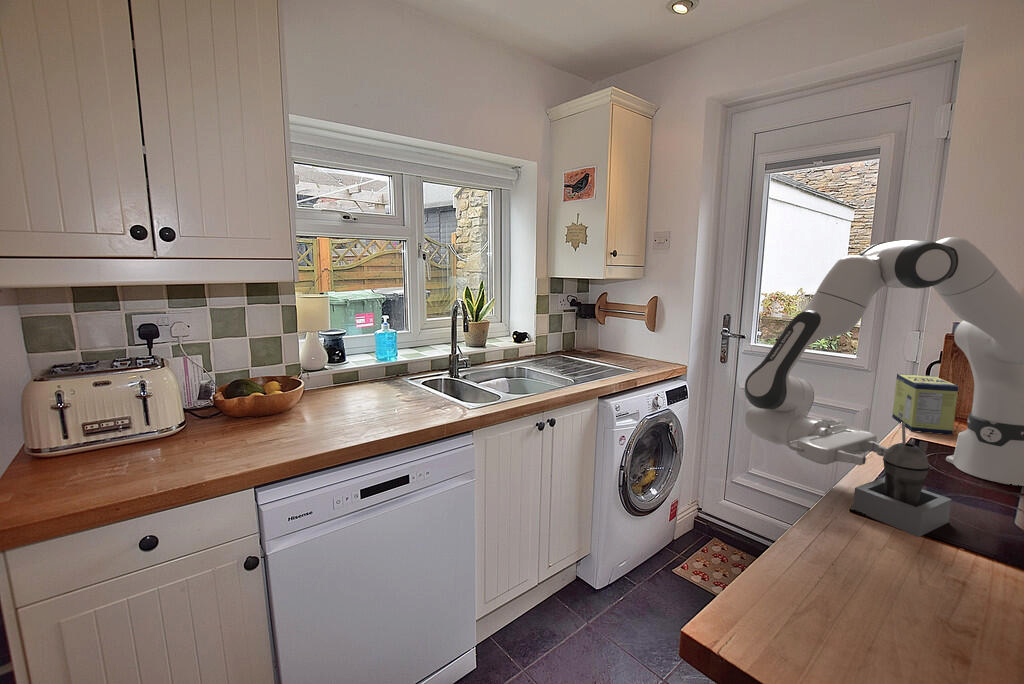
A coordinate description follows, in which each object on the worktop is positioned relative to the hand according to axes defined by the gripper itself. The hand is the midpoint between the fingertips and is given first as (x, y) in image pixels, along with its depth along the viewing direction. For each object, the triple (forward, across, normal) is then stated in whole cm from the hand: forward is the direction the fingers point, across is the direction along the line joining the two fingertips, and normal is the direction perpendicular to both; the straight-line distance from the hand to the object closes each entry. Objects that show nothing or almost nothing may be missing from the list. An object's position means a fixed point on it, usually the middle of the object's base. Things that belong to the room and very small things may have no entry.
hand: (876, 457), depth 98 cm
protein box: (-22, +71, +11) cm, 75 cm away
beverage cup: (+5, 0, +11) cm, 12 cm away
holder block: (+5, 0, +11) cm, 12 cm away
